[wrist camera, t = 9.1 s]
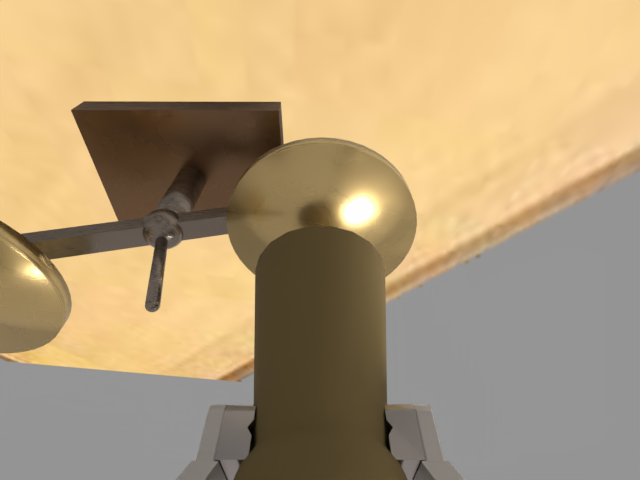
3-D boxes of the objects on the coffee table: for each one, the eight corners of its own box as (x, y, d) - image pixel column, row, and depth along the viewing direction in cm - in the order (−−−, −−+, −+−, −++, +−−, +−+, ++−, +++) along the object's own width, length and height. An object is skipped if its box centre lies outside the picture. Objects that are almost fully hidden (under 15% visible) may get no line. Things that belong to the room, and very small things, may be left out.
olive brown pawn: (403, 296, 18) (480, 619, 9) (295, 332, 20) (277, 631, 11) (353, 204, 15) (400, 574, 6) (229, 256, 16) (127, 602, 8)
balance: (405, 93, 22) (472, 213, 12) (386, 227, 28) (420, 376, 18) (-45, 92, 22) (-336, 211, 12) (36, 226, 28) (-113, 374, 19)
